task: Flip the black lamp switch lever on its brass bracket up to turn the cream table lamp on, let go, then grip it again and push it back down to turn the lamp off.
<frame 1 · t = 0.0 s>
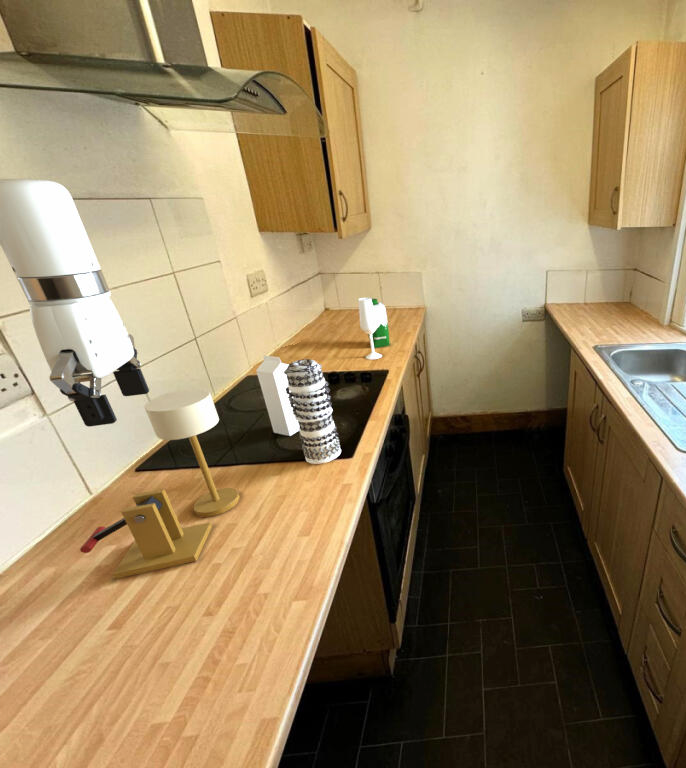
hand: (120, 408, 59), 32 cm above the table, tool pointing down, fingers open, 9 cm apart
milk: (290, 430, 118), on the table
decorative candle: (323, 455, 106), on the table
champagne flute: (373, 356, 172), on the table
milk carton: (380, 345, 186), on the table
switch lever: (122, 522, 72), point 8 cm above the table, hinge at -25.0°
switch bracket: (167, 551, 77), on the table
table lamp: (217, 504, 89), on the table
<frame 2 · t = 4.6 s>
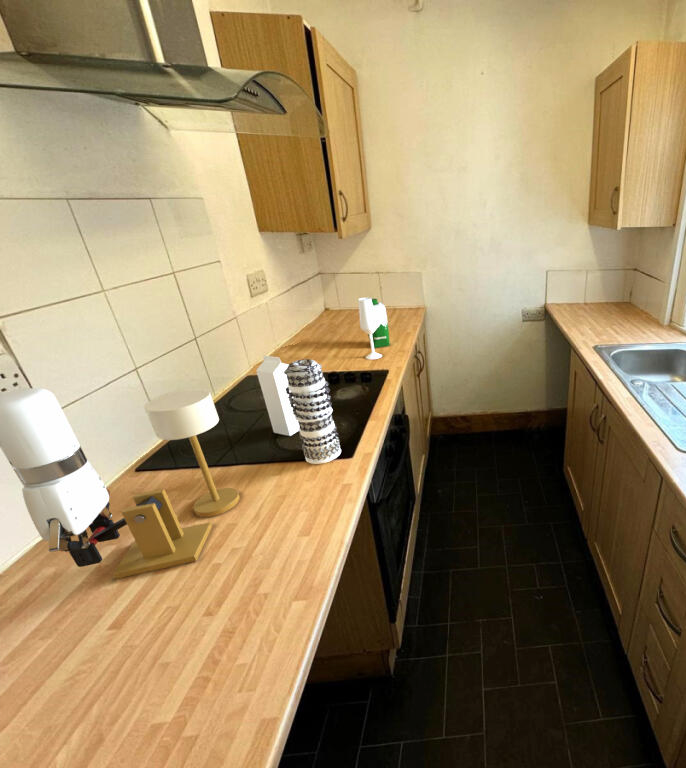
hand: (99, 550, 73), 3 cm above the table, tool pointing down, fingers closed on switch lever, 5 cm apart
switch lever: (122, 522, 72), point 8 cm above the table, hinge at -25.0°, touching gripper
everything else where it was.
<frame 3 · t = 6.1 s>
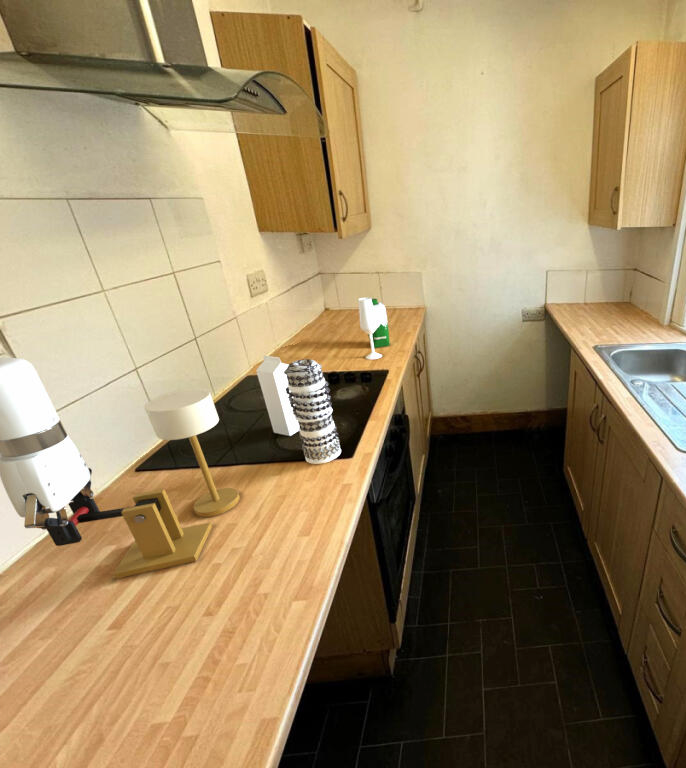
hand: (79, 529, 71), 8 cm above the table, tool pointing down, fingers closed on switch lever, 5 cm apart
switch lever: (114, 513, 71), point 10 cm above the table, hinge at 2.7°, touching gripper
everything else where it was.
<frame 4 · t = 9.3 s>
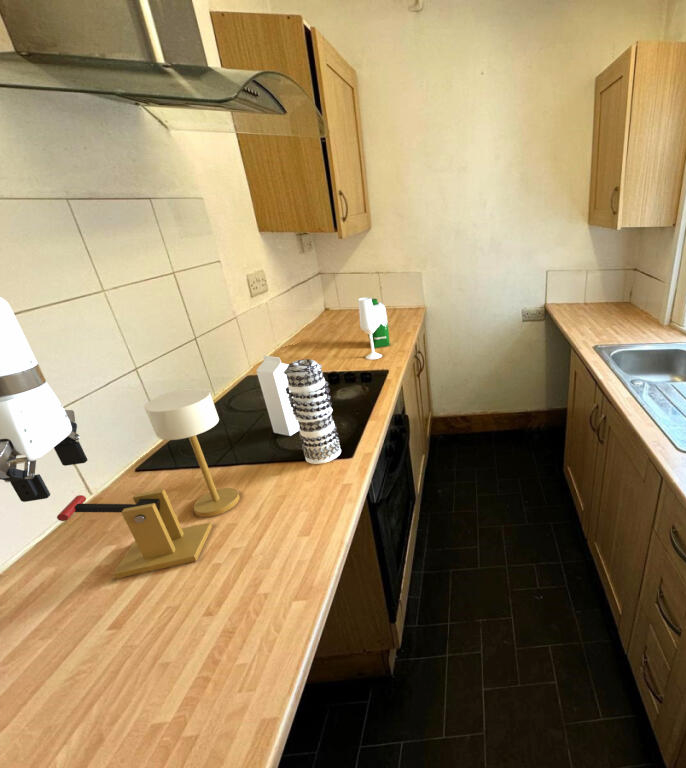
hand: (57, 480, 67), 18 cm above the table, tool pointing down, fingers open, 9 cm apart
switch lever: (113, 508, 71), point 11 cm above the table, hinge at 16.4°
everything else where it was.
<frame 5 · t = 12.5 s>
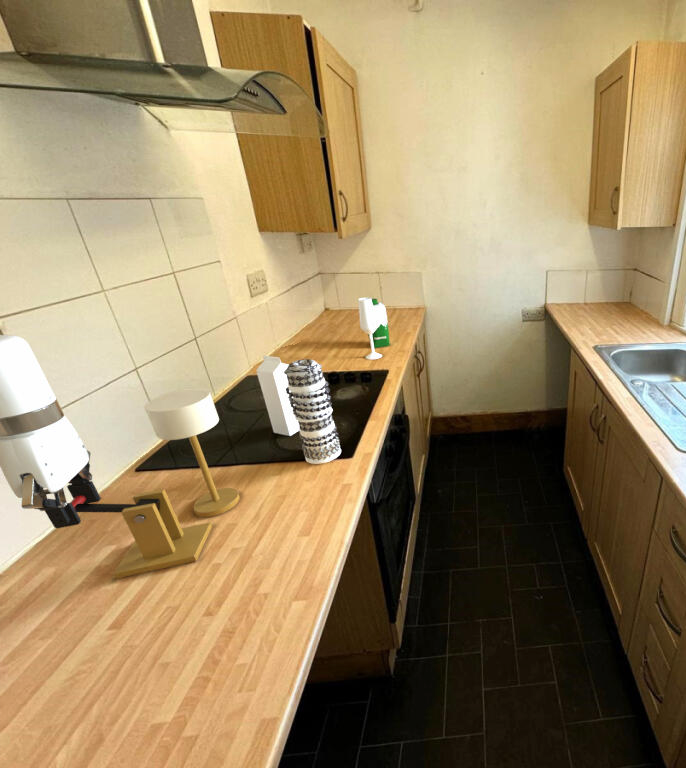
hand: (79, 512, 69), 12 cm above the table, tool pointing down, fingers closed on switch lever, 5 cm apart
switch lever: (113, 508, 71), point 11 cm above the table, hinge at 16.4°, touching gripper
everything else where it was.
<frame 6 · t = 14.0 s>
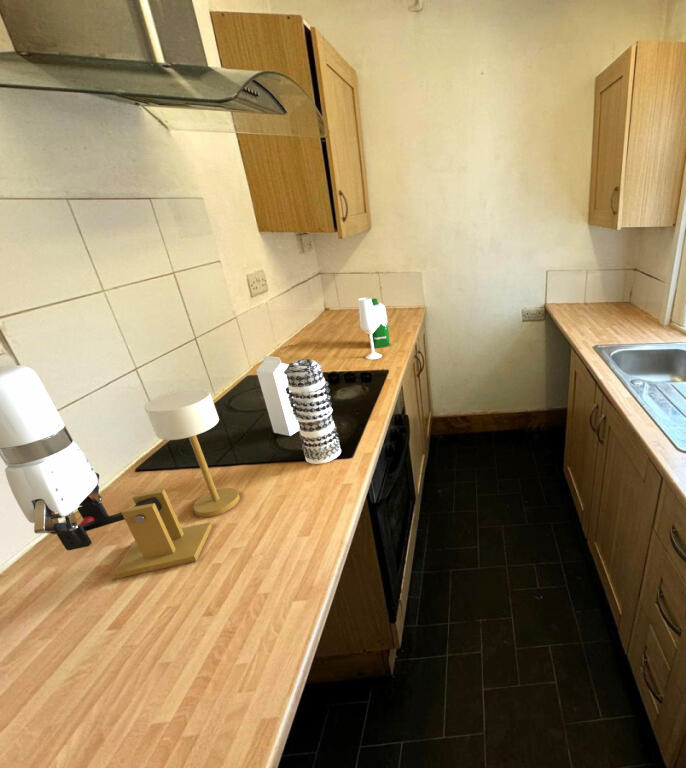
hand: (89, 533, 71), 7 cm above the table, tool pointing down, fingers closed on switch lever, 5 cm apart
switch lever: (117, 517, 72), point 9 cm above the table, hinge at -9.2°, touching gripper
everything else where it was.
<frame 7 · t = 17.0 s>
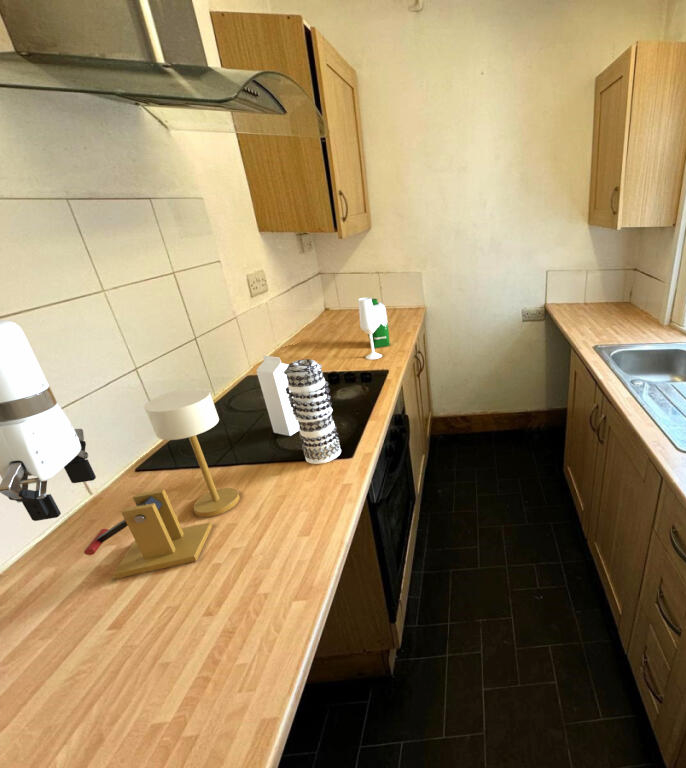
hand: (67, 498, 68), 15 cm above the table, tool pointing down, fingers open, 9 cm apart
switch lever: (124, 523, 72), point 8 cm above the table, hinge at -28.9°
everything else where it was.
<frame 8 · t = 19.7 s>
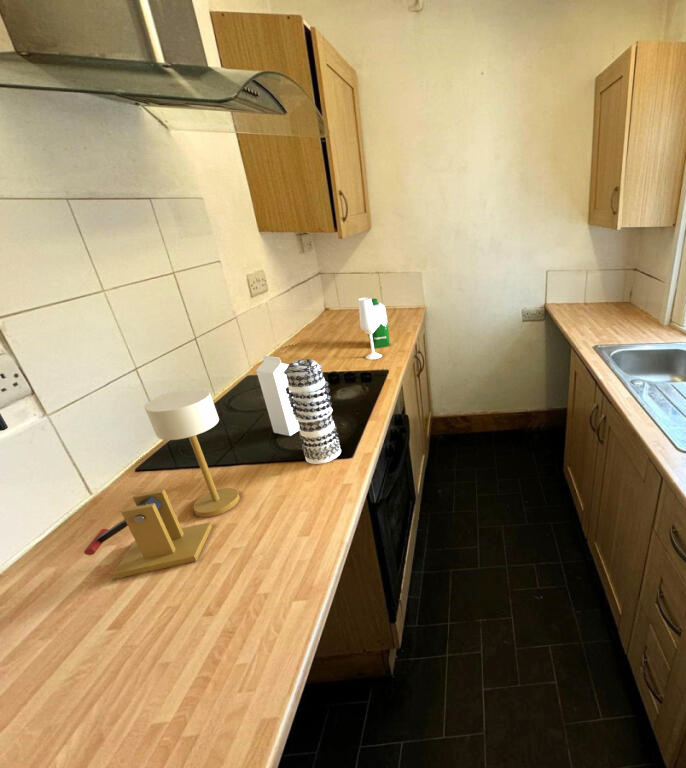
nothing on the table moved.
at the end: switch lever reached +18° during the clip, -29° at the end; switch lever at -29° (first picture: -25°) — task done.
